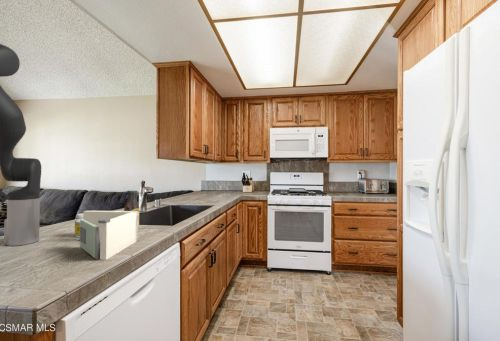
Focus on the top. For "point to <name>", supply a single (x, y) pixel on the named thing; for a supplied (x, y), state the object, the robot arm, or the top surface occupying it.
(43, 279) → the top surface
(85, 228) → the door
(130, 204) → the sauce bottle
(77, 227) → the supplement bottle
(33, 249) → the top surface
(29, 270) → the top surface
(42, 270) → the top surface
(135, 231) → the cabinet frame
